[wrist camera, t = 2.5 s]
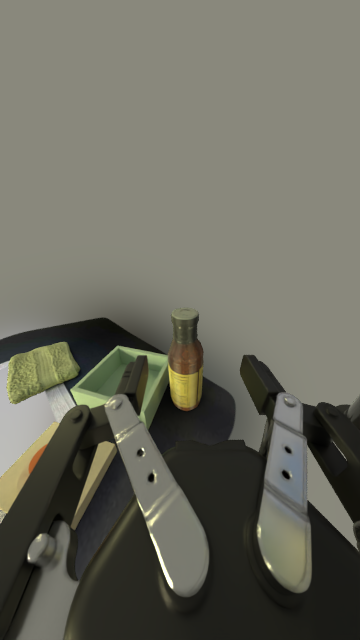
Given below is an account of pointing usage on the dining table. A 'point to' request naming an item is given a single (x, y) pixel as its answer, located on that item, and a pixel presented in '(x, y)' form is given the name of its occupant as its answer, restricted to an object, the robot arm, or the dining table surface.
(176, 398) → the sauce bottle
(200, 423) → the dining table surface
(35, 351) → the washcloth
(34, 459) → the button
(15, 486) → the panel
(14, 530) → the robot arm
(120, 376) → the sage green tray
